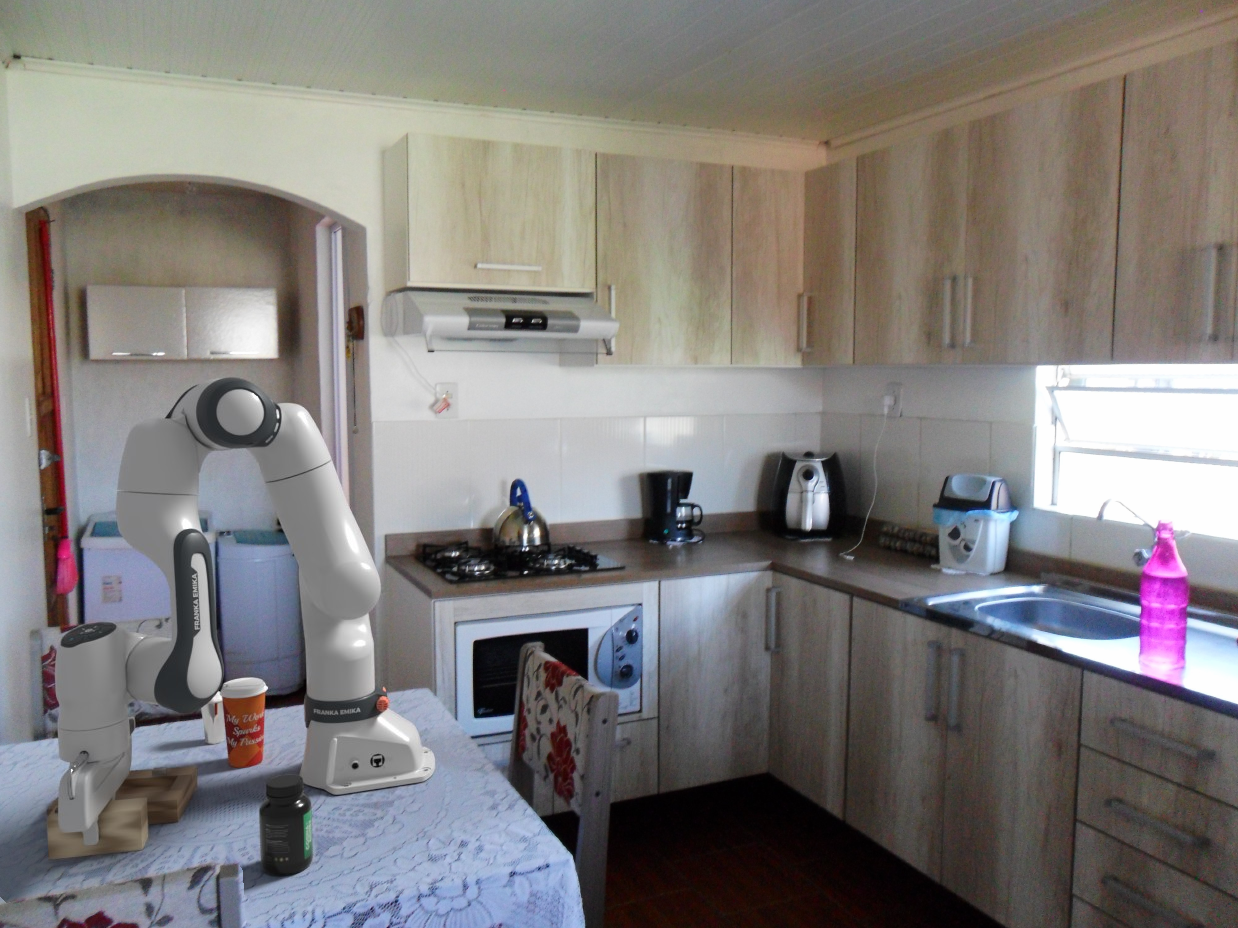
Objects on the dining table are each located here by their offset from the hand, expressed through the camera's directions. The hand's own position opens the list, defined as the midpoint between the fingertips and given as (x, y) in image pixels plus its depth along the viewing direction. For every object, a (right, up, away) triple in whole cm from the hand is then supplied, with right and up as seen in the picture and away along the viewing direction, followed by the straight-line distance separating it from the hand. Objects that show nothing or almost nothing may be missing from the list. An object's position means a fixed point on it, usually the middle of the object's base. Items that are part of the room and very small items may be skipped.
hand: (98, 833), depth 140 cm
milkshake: (0, +1, +41) cm, 41 cm away
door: (0, -2, 0) cm, 2 cm away
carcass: (-2, -1, +13) cm, 13 cm away
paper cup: (+9, +1, +31) cm, 33 cm away
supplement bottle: (+28, -3, -4) cm, 29 cm away
